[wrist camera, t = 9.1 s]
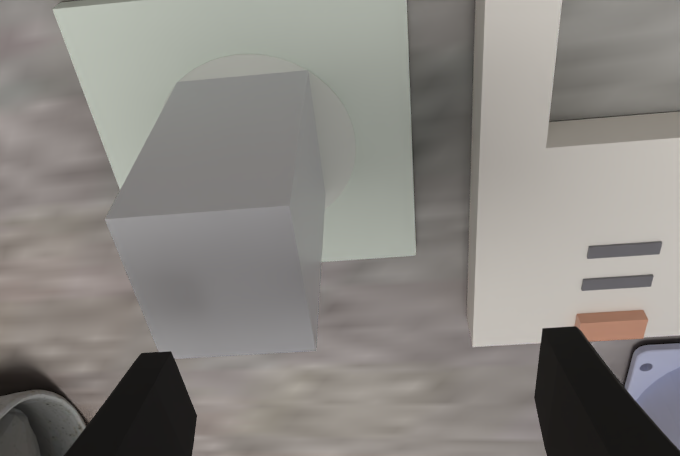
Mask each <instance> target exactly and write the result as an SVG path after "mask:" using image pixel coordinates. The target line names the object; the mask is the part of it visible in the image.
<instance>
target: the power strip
mask: <svg viewBox="0 0 680 456" xmlns="http://www.w3.org/2000/svg"><path fill="white" fill-rule="evenodd" d="M561 7H562V0H475V32H474V68H473V104H472V140H471V176H470V213H469V249H468V285H467V322H468V327H469V332H470V337H471V342H472V347H482V346H500V345H517V344H535V343H541V337H542V328H555V327H572V326H576V327H577V328H579V329H580V330H581V331H582V333H583V334H584V335H585V337H586V338H587V340H588V341H589V342H591V341H608V340H626V339H643V337H659V336H677V335H680V111H679V112H667V113H655V114H642V115H630V116H618V117H606V118H593V119H581V120H569V121H557V122H549V116H550V107H551V98H552V89H553V80H554V71H555V61H556V52H557V43H558V34H559V25H560V16H561Z"/></svg>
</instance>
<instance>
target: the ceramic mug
mask: <svg viewBox="0 0 680 456" xmlns="http://www.w3.org/2000/svg"><path fill="white" fill-rule="evenodd" d="M85 428H86V425H85V422H84V420H83V419H82V417H81V416H80V414H79V413H78V411H77V410H76V408H75V407H74V406H73V405H71V404H70V403H69V402H68V401H67V400H66V399H65V398H64V397H62V396H60V395H58V394H56V393H54V392H50V391H46V390H29V391H24V392H18V393H13V394H9V395H4V396H0V456H63V455H64V454H65V453H66V452H67V451H68V449H69V448H70V447H71V446H72V444H73V443H74V442H75V440H76V439H77V438H78V437H79V435H80V434H81V433H82V431H83V430H84V429H85Z"/></svg>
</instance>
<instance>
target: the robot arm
mask: <svg viewBox="0 0 680 456" xmlns="http://www.w3.org/2000/svg"><path fill="white" fill-rule="evenodd" d="M534 398H535V403H536V408H537V413H538V418H539V422H540V427H541V432H542V437H543V441H544V446H545V450H546V453H547V456H680V343H673V344H655V345H644V346H641V347H639V348H637V349H636V350H635V352H634V353H633V357H632V361H631V364H630V368H629V372H628V376H627V379H626V383H625V387H624V386H623V385H622V384H621V383H620V381H619V380H618V379H617V378H616V376H615V375H614V374H613V373H612V371H611V370H610V369H609V367H608V366H607V365H606V364H605V362H604V361H603V360H602V358H601V357H600V356H599V354H598V353H597V352H596V350H595V349H594V348H593V346H592V345H591V344H590V342H589V341H588V340H587V338H586V337H585V335H584V334H583V333H582V331H581V330H580V329H579V328H577V327H576V326H572V327H555V328H542V337H541V346H540V354H539V363H538V371H537V380H536V389H535V397H534ZM196 418H197V415H196V412H195V410H194V407H193V405H192V402H191V400H190V397H189V395H188V392H187V390H186V387H185V385H184V382H183V380H182V377H181V375H180V372H179V370H178V367H177V364H176V362H175V359H174V357H173V354H172V352H171V351H169V352H153V353H141V354H140V356H139V357H138V358H137V359H136V361H135V362H134V363H133V365H132V366H131V367H130V369H129V370H128V371H127V373H126V374H125V375H124V377H123V378H122V380H121V381H120V382H119V384H118V385H117V386H116V388H115V389H114V390H113V392H112V393H111V394H110V396H109V397H108V399H107V400H106V401H105V403H104V404H103V405H102V407H101V408H100V409H99V411H98V412H97V413H96V415H95V416H94V417H93V419H92V420H91V421H90V422H89V424H88V425H87V426H86V428H85V429H84V430H83V431H82V433H81V434H80V435H79V437H78V438H77V439H76V440H75V442H74V443H73V444H72V446H71V447H70V448H69V449H68V451H67V452H66V453H65V454H64V455H63V456H192V450H193V443H194V435H195V427H196Z"/></svg>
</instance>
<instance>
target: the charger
mask: <svg viewBox="0 0 680 456" xmlns="http://www.w3.org/2000/svg"><path fill="white" fill-rule="evenodd" d="M324 212H325V187H324V180H323V173H322V166H321V159H320V151H319V144H318V137H317V130H316V123H315V115H314V108H313V101H312V94H311V87H310V79H309V72H308V70H304V71H293V72H282V73H271V74H259V75H248V76H237V77H226V78H215V79H204V80H193V81H182V82H177V83H176V85H175V87H174V89H173V91H172V93H171V94H170V96H169V98H168V100H167V102H166V104H165V106H164V108H163V110H162V112H161V113H160V115H159V117H158V119H157V121H156V123H155V125H154V127H153V129H152V131H151V132H150V134H149V136H148V138H147V140H146V142H145V144H144V146H143V148H142V150H141V151H140V153H139V155H138V157H137V159H136V161H135V163H134V165H133V167H132V169H131V170H130V172H129V174H128V176H127V178H126V180H125V182H124V184H123V186H122V188H121V189H120V191H119V193H118V195H117V197H116V199H115V201H114V203H113V205H112V207H111V208H110V210H109V212H108V214H107V216H106V218H105V221H106V223H107V226H108V228H109V231H110V233H111V236H112V238H113V241H114V243H115V246H116V248H117V251H118V253H119V256H120V258H121V261H122V263H123V265H124V268H125V270H126V273H127V275H128V278H129V280H130V283H131V285H132V288H133V290H134V293H135V295H136V298H137V300H138V303H139V305H140V307H141V310H142V312H143V315H144V317H145V320H146V322H147V325H148V327H149V330H150V332H151V335H152V337H153V340H154V342H155V344H156V347H157V349H158V352H169V351H171V352H172V354H173V357H174V359H183V358H200V357H218V356H235V355H253V354H270V353H288V352H305V351H316V345H317V329H318V312H319V295H320V279H321V262H322V245H323V229H324Z"/></svg>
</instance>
